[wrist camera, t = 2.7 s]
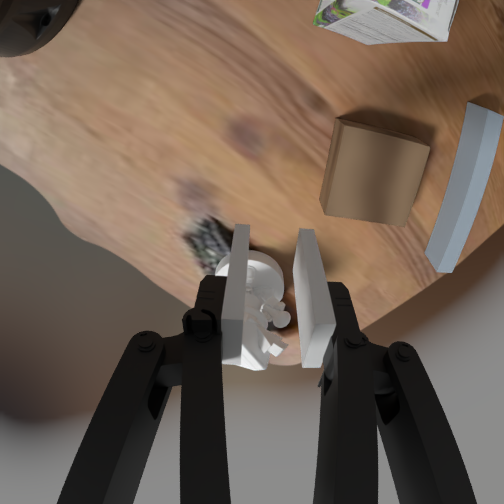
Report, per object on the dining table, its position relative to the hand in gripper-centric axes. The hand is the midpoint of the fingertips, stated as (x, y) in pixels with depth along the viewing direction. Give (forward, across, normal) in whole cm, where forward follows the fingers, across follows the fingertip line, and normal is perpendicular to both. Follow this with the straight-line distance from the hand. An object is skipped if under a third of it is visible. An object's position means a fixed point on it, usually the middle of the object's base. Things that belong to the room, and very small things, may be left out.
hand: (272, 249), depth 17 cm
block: (+17, +10, 0) cm, 20 cm away
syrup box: (+17, +6, +16) cm, 24 cm away
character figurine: (+17, -2, -16) cm, 23 cm away
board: (+17, +22, 0) cm, 28 cm away
